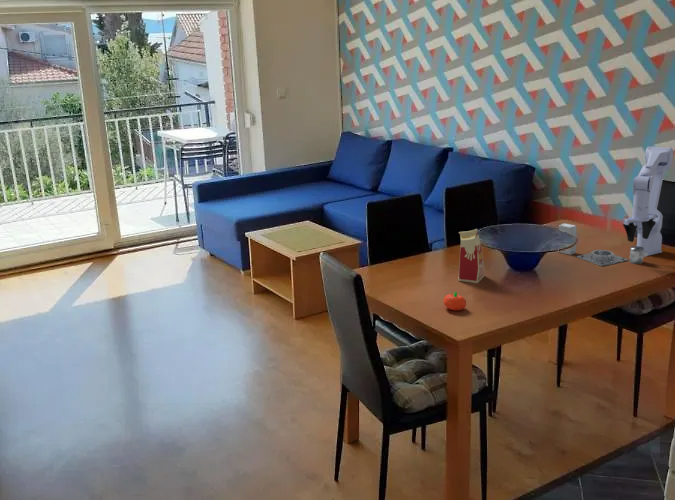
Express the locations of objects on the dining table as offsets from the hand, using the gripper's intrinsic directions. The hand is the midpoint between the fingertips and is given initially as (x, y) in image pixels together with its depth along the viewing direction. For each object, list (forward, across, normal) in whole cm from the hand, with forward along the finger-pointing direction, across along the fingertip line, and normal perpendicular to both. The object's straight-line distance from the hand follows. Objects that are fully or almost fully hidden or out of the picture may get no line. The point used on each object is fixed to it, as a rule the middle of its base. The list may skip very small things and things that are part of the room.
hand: (637, 239), depth 282 cm
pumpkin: (+10, -89, -7) cm, 90 cm away
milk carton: (+10, -67, +17) cm, 70 cm away
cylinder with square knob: (+10, +1, 0) cm, 10 cm away
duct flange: (+10, -8, +10) cm, 16 cm away
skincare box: (+10, -14, +24) cm, 30 cm away
